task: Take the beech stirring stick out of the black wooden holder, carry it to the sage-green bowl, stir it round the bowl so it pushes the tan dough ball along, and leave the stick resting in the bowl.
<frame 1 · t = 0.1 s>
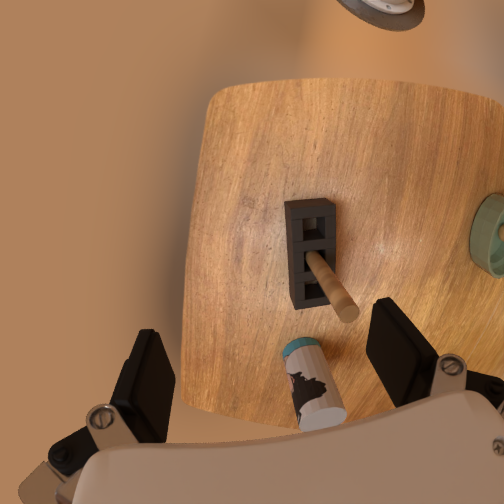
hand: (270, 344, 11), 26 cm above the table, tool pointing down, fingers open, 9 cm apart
printed cylindrical canister: (301, 351, 46), on the table
stick: (324, 275, 31), in the holder
holder: (307, 249, 39), on the table
bowl: (490, 230, 40), on the table
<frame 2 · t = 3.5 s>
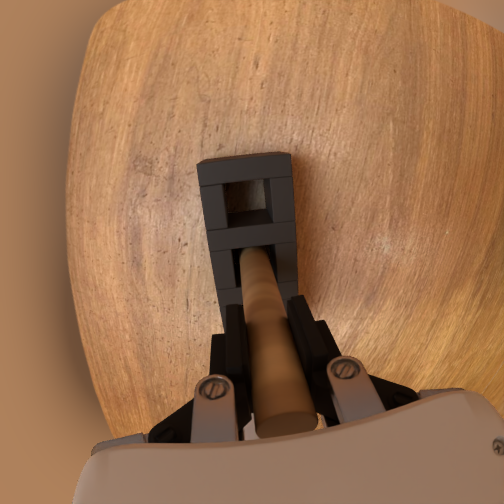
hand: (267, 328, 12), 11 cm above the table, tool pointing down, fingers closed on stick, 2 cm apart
stick: (261, 298, 15), in the holder, touching gripper
holder: (251, 245, 22), on the table
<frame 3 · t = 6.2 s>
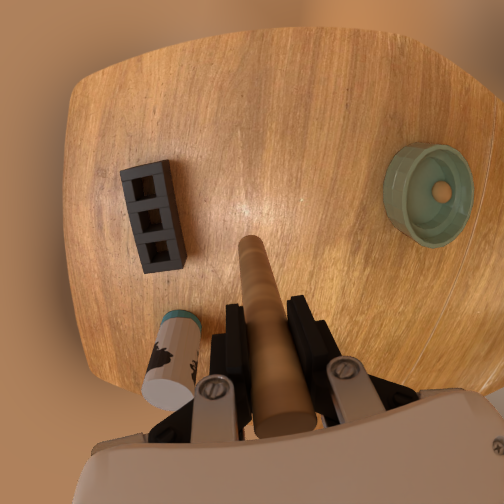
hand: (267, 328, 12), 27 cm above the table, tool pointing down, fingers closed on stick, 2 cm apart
printed cylindrical canister: (181, 325, 44), on the table
stick: (261, 300, 15), point 24 cm above the table, touching gripper
holder: (158, 213, 37), on the table
dough ball: (441, 192, 36), point 2 cm above the table, touching bowl
bowl: (420, 189, 38), on the table
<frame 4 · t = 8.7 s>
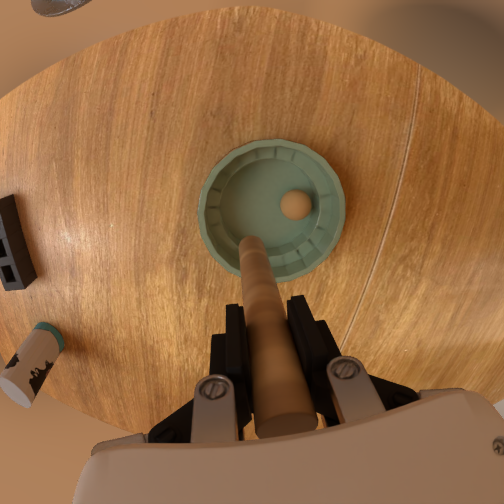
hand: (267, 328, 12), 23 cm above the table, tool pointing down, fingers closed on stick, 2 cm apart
printed cylindrical canister: (50, 336, 40), on the table
stick: (262, 300, 15), point 21 cm above the table, touching gripper
holder: (13, 239, 32), on the table
dough ball: (295, 204, 32), point 2 cm above the table, touching bowl
bowl: (267, 202, 34), on the table
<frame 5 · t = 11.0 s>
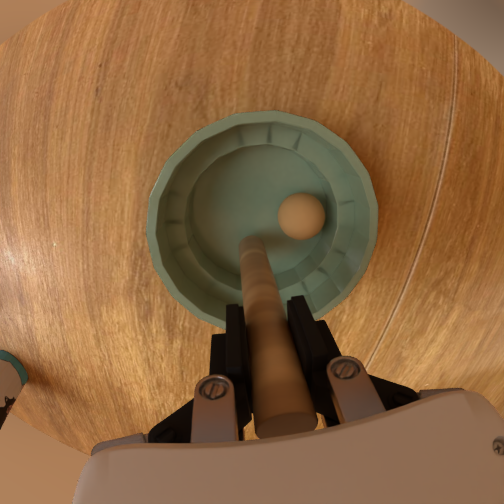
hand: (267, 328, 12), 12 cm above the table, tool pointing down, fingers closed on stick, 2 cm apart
printed cylindrical canister: (13, 365, 29), on the table
stick: (261, 300, 15), point 10 cm above the table, touching gripper
dough ball: (301, 216, 21), point 2 cm above the table, touching bowl
bowl: (258, 212, 23), on the table
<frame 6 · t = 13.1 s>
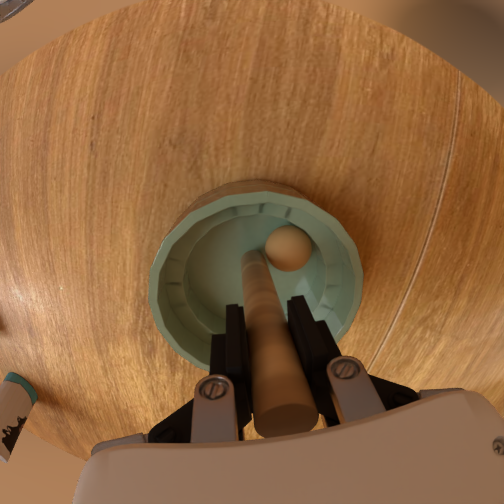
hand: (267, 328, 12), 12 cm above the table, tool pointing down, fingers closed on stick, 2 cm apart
printed cylindrical canister: (22, 385, 31), on the table
stick: (262, 307, 15), point 10 cm above the table, tilted 6°, touching gripper
dough ball: (288, 248, 22), point 2 cm above the table, tilted 34°, touching bowl
bowl: (252, 267, 25), on the table
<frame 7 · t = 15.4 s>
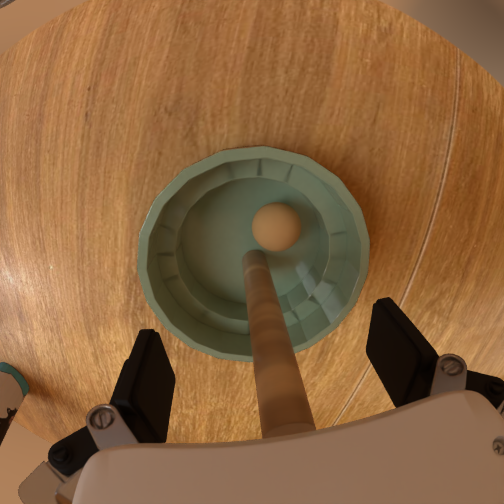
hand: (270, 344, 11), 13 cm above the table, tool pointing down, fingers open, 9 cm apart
printed cylindrical canister: (14, 376, 29), on the table
stick: (265, 316, 16), in the bowl, point 9 cm above the table
dough ball: (276, 226, 21), point 2 cm above the table, tilted 21°, touching bowl
bowl: (250, 241, 23), on the table
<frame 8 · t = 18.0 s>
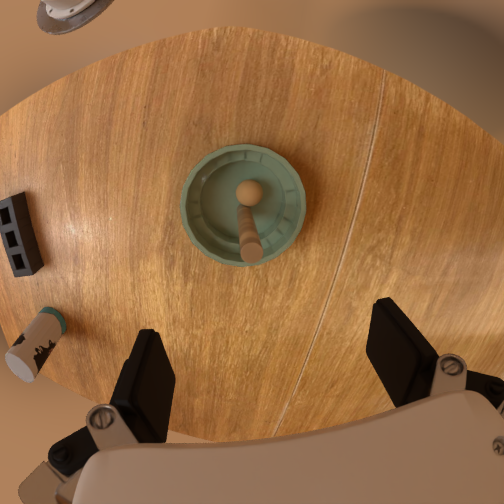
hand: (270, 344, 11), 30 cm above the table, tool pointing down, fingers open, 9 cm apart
printed cylindrical canister: (53, 320, 45), on the table
stick: (246, 226, 32), in the bowl, point 9 cm above the table
holder: (23, 231, 38), on the table
dough ball: (249, 192, 37), point 2 cm above the table, tilted 45°, touching bowl
bowl: (241, 198, 39), on the table
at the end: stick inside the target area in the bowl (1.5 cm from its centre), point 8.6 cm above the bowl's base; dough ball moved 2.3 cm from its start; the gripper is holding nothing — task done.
